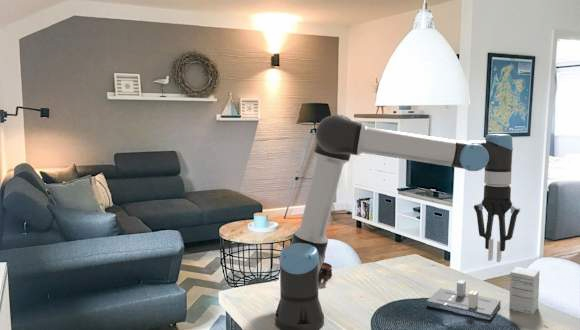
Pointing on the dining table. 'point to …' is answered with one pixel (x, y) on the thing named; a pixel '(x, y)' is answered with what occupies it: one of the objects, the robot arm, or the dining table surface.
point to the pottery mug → (325, 272)
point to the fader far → (461, 288)
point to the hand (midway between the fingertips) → (494, 260)
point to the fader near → (473, 299)
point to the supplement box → (524, 290)
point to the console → (465, 302)
